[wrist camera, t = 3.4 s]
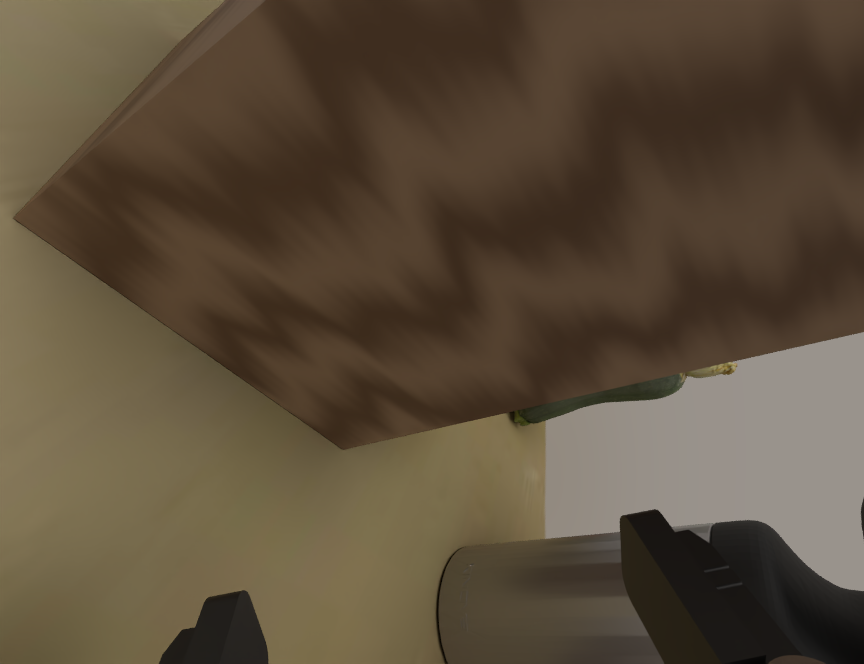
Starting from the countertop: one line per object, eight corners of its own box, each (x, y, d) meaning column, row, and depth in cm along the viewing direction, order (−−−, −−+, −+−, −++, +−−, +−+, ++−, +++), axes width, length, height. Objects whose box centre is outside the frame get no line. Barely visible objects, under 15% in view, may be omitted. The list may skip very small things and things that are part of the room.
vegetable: (496, 399, 53) (726, 344, 43) (507, 376, 56) (723, 319, 46) (516, 437, 54) (744, 391, 44) (525, 411, 58) (739, 364, 47)
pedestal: (391, 266, 44) (894, 52, 28) (343, 449, 34) (1088, 281, 18) (181, 40, 32) (841, -562, 16) (13, 217, 22) (1329, -917, 6)
